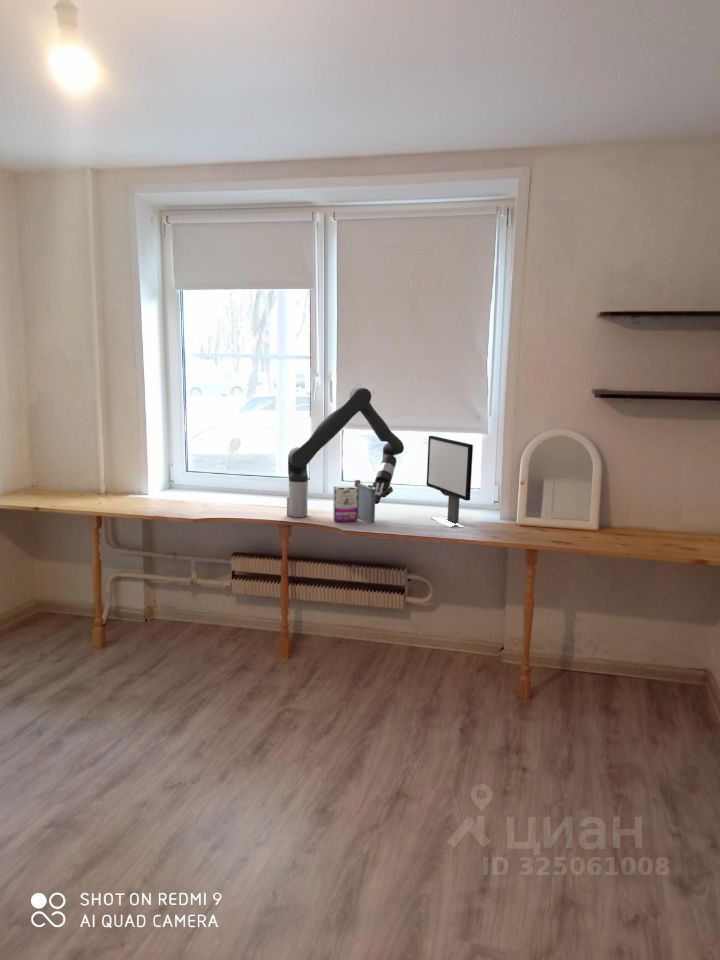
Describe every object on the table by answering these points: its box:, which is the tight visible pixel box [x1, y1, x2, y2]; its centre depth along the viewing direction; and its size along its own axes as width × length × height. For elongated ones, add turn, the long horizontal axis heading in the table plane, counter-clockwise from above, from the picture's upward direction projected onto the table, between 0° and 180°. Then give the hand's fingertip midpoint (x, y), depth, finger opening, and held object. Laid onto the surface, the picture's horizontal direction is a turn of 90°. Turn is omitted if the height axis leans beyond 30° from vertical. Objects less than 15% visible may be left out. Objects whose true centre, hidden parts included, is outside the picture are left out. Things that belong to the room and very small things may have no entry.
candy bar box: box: [332, 486, 358, 523], centre depth 331 cm, size 11×5×16 cm, turn 101°
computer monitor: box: [426, 435, 474, 529], centre depth 331 cm, size 41×8×40 cm, turn 21°
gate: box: [357, 483, 376, 524], centre depth 331 cm, size 17×2×16 cm, turn 24°
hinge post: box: [353, 479, 361, 487], centre depth 341 cm, size 3×3×18 cm
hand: (375, 503), depth 331 cm, fingers closed
